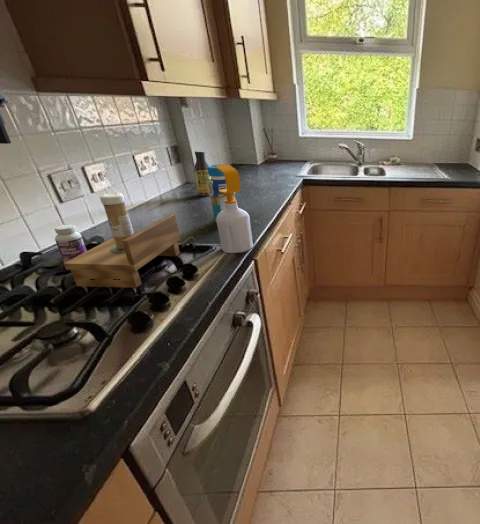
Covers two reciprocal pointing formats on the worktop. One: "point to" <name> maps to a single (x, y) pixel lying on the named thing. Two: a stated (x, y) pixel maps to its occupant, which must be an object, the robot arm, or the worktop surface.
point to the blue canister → (217, 189)
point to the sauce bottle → (202, 174)
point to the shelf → (125, 256)
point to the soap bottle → (233, 216)
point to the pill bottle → (69, 242)
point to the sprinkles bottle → (117, 217)
